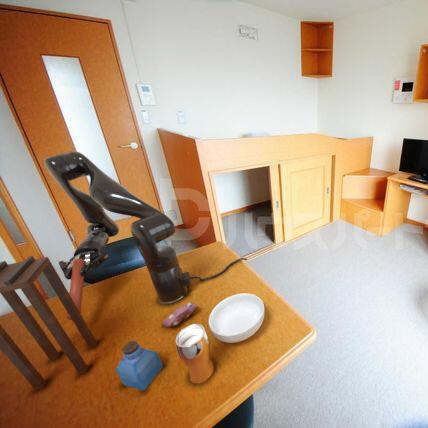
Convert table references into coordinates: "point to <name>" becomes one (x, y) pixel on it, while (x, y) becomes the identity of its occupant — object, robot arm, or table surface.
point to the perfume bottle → (138, 366)
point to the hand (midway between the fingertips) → (75, 275)
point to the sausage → (76, 284)
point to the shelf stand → (23, 279)
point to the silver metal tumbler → (195, 352)
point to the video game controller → (179, 314)
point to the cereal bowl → (237, 317)
